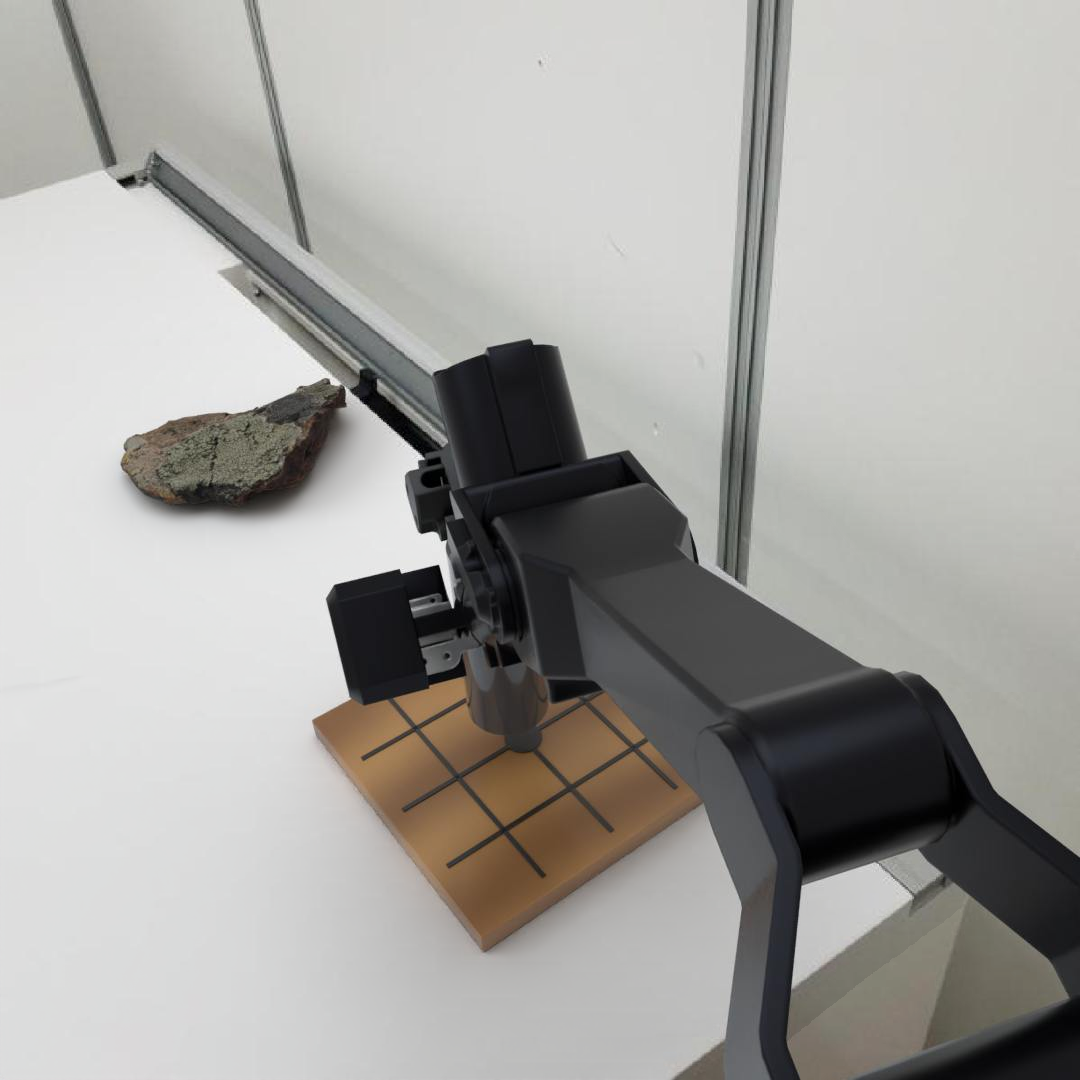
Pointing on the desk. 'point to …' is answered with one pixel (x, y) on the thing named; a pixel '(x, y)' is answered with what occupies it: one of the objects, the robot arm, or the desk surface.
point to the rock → (234, 449)
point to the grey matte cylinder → (499, 687)
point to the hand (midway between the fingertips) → (494, 612)
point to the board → (505, 797)
